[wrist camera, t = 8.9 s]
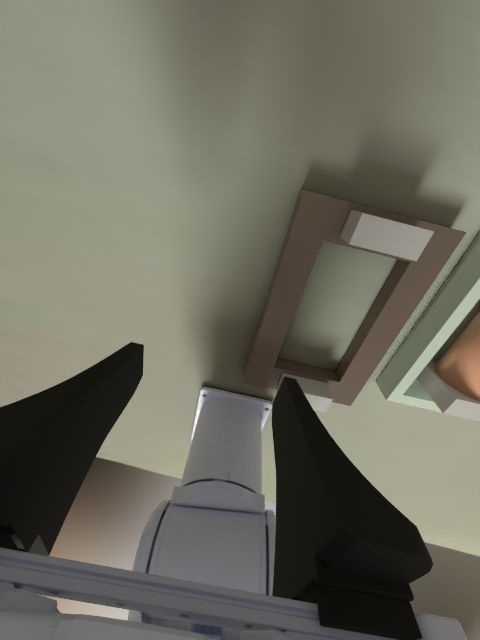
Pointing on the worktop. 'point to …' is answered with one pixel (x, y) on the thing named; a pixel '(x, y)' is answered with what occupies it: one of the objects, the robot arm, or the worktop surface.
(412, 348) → the parts tray
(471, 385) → the fuse
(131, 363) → the robot arm
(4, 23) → the worktop surface
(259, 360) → the frame
